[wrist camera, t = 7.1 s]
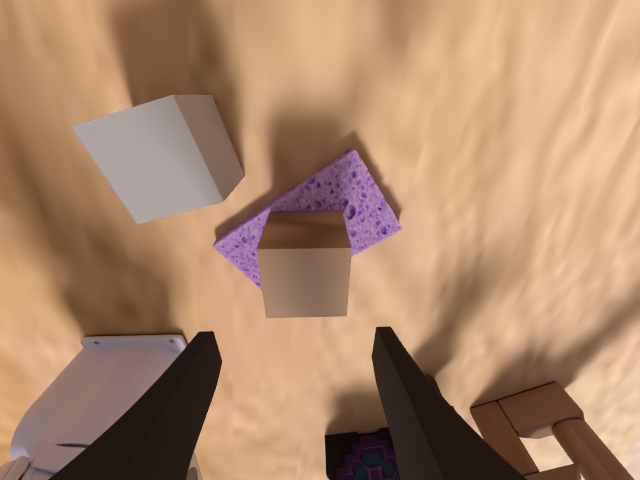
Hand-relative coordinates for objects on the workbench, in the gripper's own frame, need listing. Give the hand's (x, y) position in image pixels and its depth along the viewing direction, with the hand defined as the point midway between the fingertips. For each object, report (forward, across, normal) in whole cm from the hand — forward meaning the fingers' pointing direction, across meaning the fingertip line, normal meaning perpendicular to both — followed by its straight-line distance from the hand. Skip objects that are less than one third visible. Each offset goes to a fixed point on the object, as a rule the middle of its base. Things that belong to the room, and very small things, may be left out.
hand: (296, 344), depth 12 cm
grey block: (+10, +7, -7) cm, 14 cm away
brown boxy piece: (+9, 0, 0) cm, 9 cm away
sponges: (+11, 0, -1) cm, 11 cm away
